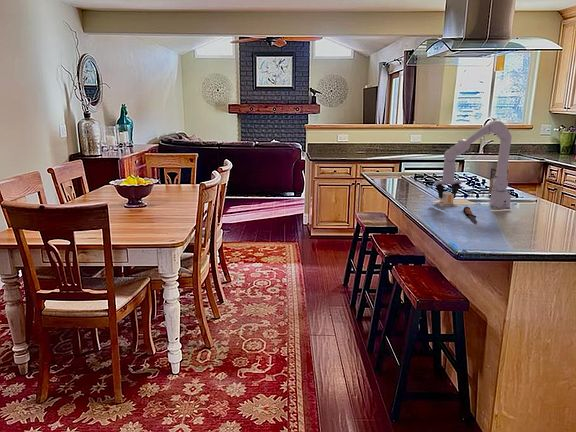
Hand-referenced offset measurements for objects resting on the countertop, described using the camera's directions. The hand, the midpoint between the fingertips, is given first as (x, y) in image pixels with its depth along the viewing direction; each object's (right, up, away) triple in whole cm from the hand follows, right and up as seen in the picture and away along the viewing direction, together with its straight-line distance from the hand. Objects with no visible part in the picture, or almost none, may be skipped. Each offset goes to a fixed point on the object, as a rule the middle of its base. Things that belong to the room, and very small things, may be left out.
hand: (446, 198), depth 239 cm
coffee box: (+37, +1, +22) cm, 43 cm away
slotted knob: (0, -2, +1) cm, 2 cm away
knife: (+1, -11, -30) cm, 32 cm away
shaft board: (+4, -3, +2) cm, 5 cm away
